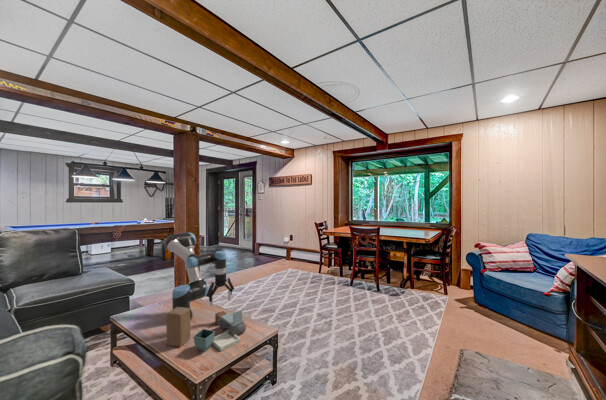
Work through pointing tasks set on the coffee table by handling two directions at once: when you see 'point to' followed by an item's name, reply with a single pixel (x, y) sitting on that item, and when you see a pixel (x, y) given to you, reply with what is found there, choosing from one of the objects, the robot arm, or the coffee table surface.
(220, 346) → the tray
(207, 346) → the flower pot
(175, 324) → the wooden block
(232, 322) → the trolley
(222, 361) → the coffee table surface
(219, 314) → the block
